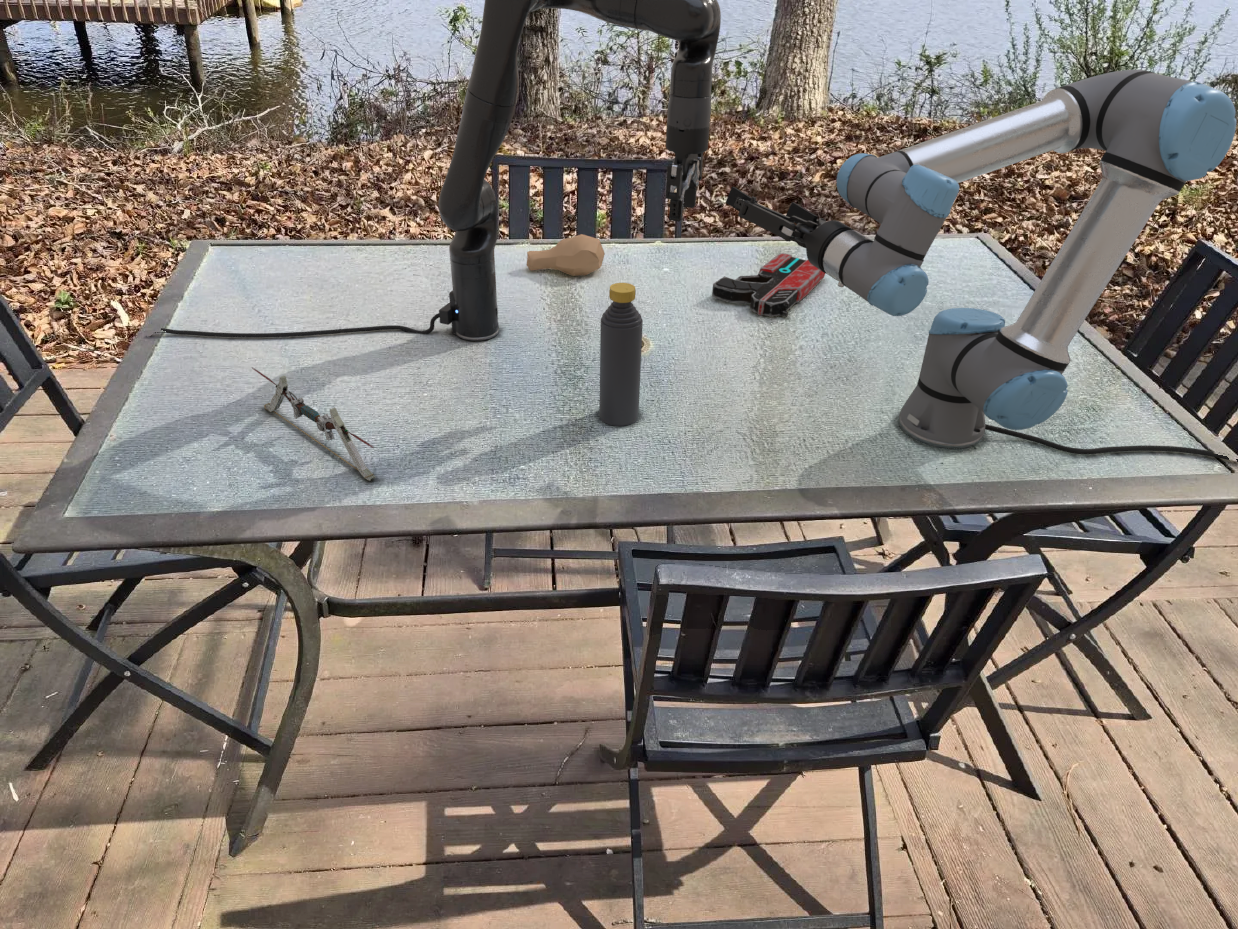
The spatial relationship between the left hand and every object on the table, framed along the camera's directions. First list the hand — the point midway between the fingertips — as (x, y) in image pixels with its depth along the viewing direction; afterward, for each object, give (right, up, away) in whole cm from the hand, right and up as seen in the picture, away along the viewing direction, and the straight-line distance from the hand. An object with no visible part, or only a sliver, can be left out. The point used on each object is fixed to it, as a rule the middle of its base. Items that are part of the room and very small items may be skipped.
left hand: (682, 213), depth 162 cm
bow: (-65, -43, -8) cm, 78 cm away
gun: (+26, -4, +54) cm, 60 cm away
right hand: (+12, -2, -15) cm, 19 cm away
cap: (-11, -16, -12) cm, 23 cm away
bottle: (-12, -37, +2) cm, 39 cm away
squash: (-25, +3, +62) cm, 67 cm away
